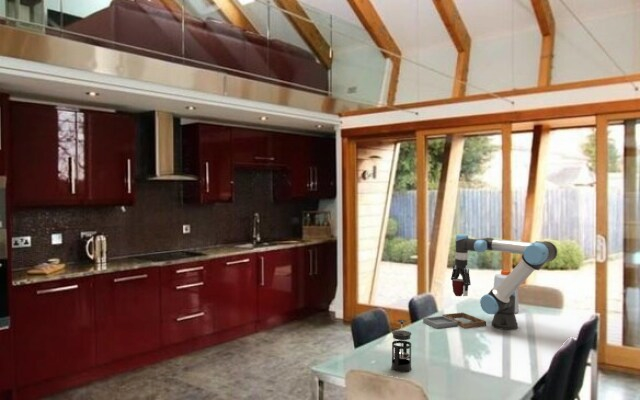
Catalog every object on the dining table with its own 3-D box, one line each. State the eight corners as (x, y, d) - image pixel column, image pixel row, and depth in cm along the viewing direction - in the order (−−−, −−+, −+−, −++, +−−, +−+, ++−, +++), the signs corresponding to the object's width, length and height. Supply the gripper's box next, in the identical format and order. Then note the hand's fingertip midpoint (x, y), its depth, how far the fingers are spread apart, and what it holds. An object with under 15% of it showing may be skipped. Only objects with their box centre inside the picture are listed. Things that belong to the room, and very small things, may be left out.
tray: (457, 326, 307) (457, 321, 307) (436, 329, 302) (437, 324, 302) (443, 320, 321) (443, 315, 321) (423, 322, 316) (423, 318, 316)
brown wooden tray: (486, 326, 309) (486, 321, 309) (464, 328, 303) (464, 323, 303) (462, 317, 330) (462, 312, 330) (442, 319, 324) (442, 314, 324)
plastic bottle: (489, 309, 353) (490, 269, 352) (510, 308, 354) (510, 269, 354) (499, 314, 338) (500, 273, 337) (521, 314, 339) (521, 272, 339)
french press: (396, 363, 242) (396, 316, 242) (414, 367, 237) (415, 318, 237) (386, 370, 232) (387, 321, 232) (405, 374, 227) (406, 324, 227)
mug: (470, 296, 315) (471, 280, 315) (464, 298, 310) (465, 282, 309) (455, 293, 323) (456, 278, 322) (449, 295, 317) (449, 279, 316)
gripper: (446, 256, 325) (444, 290, 326) (467, 262, 303) (465, 298, 304) (455, 256, 327) (454, 289, 328) (477, 261, 305) (476, 297, 306)
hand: (460, 293), depth 316 cm, fingers closed on mug, 10 cm apart
